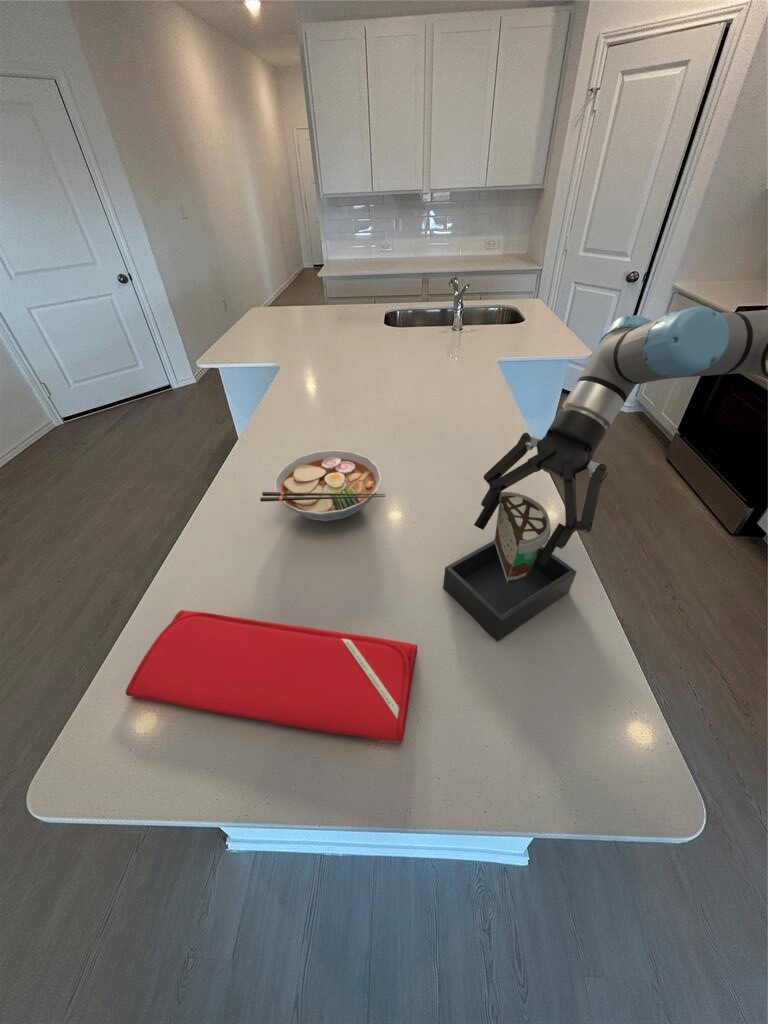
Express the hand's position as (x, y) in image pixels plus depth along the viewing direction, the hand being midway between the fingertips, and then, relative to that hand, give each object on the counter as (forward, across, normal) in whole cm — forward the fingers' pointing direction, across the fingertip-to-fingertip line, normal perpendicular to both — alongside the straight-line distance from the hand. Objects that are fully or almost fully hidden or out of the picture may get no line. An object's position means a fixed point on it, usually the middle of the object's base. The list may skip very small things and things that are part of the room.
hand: (507, 544), depth 68 cm
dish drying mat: (+35, +15, +15) cm, 41 cm away
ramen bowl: (+13, +41, -7) cm, 44 cm away
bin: (+7, 0, -12) cm, 14 cm away
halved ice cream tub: (+1, -1, -5) cm, 5 cm away
